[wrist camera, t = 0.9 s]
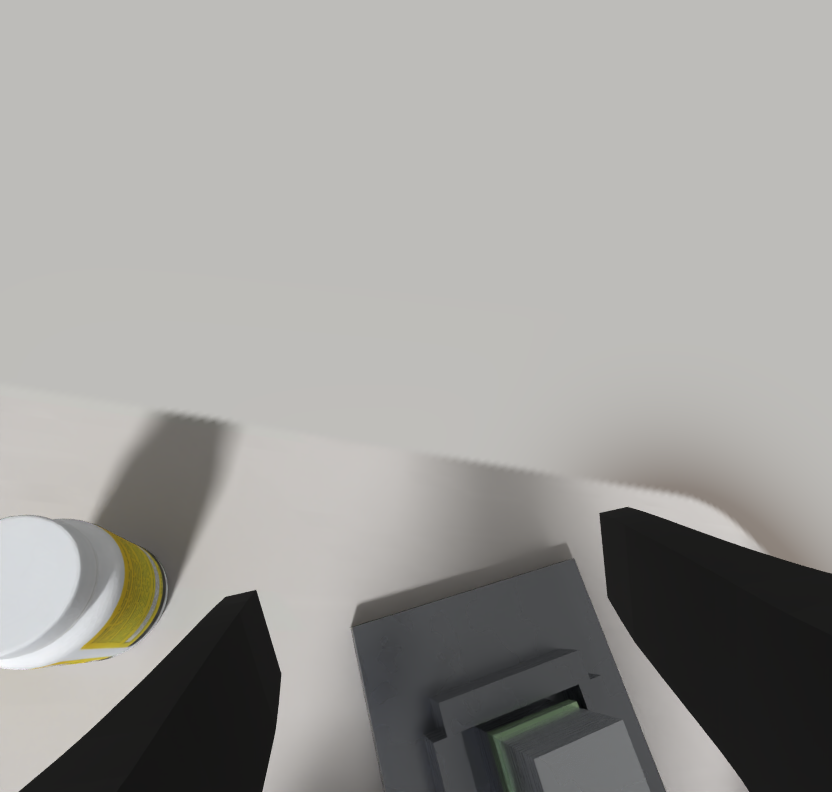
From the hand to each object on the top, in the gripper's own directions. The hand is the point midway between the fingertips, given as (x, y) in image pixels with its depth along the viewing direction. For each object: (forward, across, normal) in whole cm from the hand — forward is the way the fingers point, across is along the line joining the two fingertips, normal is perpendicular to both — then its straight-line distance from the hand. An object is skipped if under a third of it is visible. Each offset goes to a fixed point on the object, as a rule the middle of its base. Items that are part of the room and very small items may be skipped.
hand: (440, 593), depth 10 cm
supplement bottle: (+12, +14, +5) cm, 19 cm away
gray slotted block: (+8, -2, +15) cm, 17 cm away
